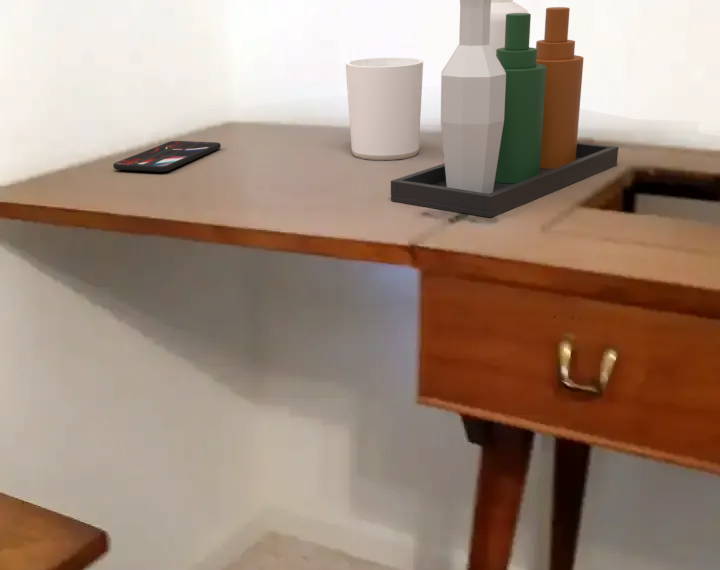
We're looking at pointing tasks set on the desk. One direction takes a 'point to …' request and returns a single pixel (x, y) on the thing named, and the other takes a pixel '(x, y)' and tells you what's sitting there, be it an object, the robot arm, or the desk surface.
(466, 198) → the tray
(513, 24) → the green bottle
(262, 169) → the desk surface
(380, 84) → the mug
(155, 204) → the desk surface
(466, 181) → the low poly bottle
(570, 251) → the desk surface
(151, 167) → the smartphone
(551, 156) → the amber bottle
